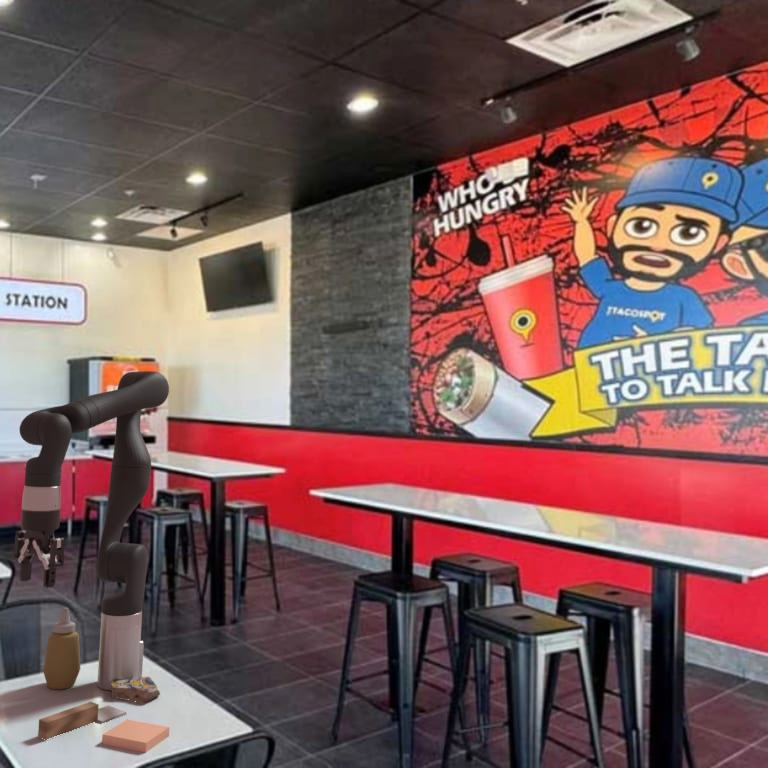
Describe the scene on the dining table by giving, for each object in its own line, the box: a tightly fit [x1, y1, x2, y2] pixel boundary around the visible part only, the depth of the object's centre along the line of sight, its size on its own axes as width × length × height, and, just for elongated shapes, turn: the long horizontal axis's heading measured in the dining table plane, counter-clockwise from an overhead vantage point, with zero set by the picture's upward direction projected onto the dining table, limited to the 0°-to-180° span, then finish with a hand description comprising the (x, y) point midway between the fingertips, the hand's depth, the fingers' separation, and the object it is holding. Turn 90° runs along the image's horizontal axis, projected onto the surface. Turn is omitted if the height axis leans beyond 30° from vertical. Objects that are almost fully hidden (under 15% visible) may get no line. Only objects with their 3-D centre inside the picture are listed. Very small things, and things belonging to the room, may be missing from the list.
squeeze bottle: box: [42, 607, 81, 690], centre depth 181 cm, size 8×8×18 cm
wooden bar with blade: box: [37, 701, 127, 741], centre depth 160 cm, size 18×6×4 cm, turn 148°
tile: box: [101, 719, 170, 753], centre depth 154 cm, size 2×8×10 cm
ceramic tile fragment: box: [110, 676, 161, 703], centre depth 178 cm, size 12×3×10 cm
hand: (36, 583), depth 163 cm, fingers open, 8 cm apart
